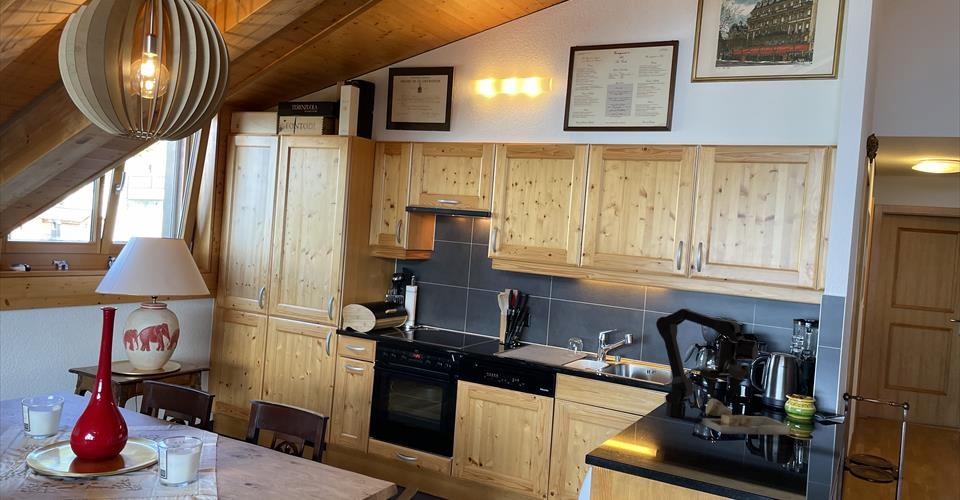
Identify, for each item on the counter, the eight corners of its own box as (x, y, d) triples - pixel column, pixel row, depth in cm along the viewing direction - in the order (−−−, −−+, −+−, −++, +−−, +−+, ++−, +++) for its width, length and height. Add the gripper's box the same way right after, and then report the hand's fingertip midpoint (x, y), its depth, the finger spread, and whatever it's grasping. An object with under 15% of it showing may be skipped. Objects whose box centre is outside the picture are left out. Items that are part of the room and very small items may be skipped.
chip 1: (727, 429, 277) (729, 417, 276) (720, 426, 281) (721, 414, 281) (737, 430, 278) (739, 418, 278) (730, 426, 282) (731, 414, 282)
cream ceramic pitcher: (735, 421, 297) (727, 399, 295) (711, 428, 299) (703, 406, 297) (732, 412, 304) (724, 391, 302) (708, 419, 306) (700, 398, 304)
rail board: (722, 435, 270) (723, 425, 270) (699, 424, 284) (700, 414, 283) (790, 436, 280) (791, 426, 280) (764, 425, 293) (765, 416, 293)
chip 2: (741, 430, 278) (743, 418, 278) (732, 427, 282) (733, 415, 282) (750, 430, 280) (751, 418, 280) (740, 426, 284) (742, 414, 284)
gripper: (722, 358, 267) (717, 401, 268) (762, 359, 275) (757, 402, 276) (701, 352, 278) (696, 394, 278) (740, 353, 285) (735, 394, 286)
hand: (722, 396), depth 279 cm, fingers open, 9 cm apart
